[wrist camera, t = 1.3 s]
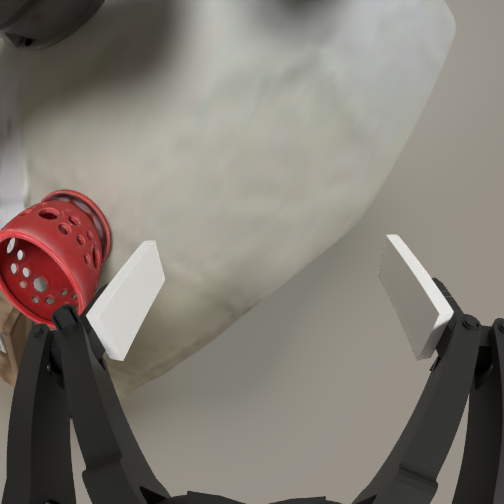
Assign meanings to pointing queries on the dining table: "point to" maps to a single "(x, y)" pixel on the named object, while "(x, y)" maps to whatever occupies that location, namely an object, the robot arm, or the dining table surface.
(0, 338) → the medicine bottle
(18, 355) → the walnut bay
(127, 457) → the robot arm
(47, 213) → the plant pot
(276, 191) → the dining table surface
